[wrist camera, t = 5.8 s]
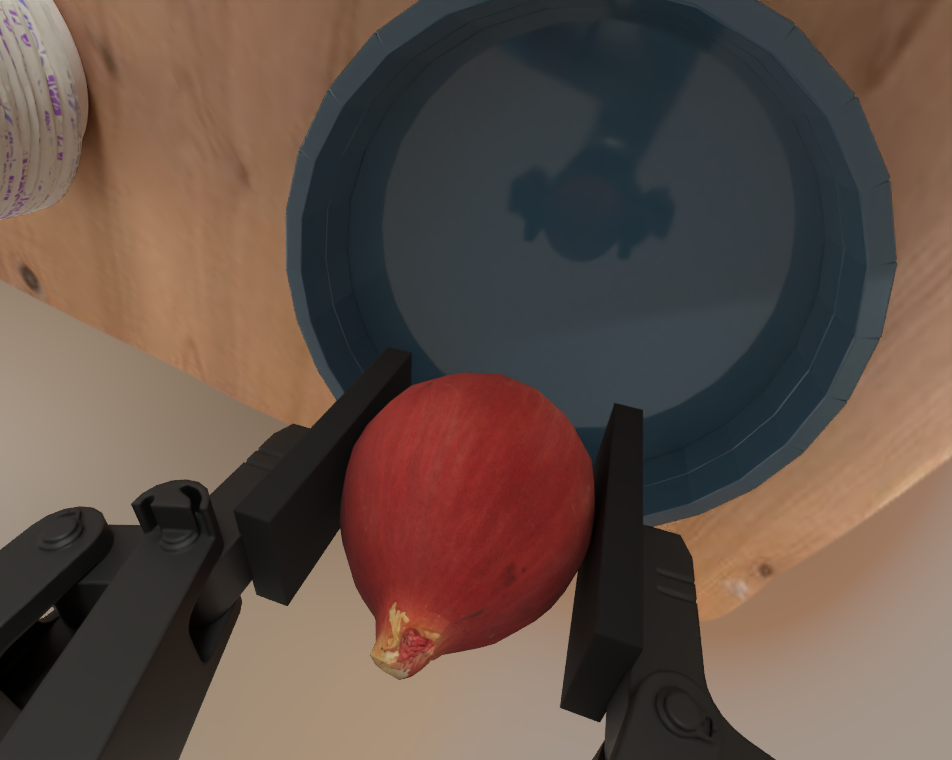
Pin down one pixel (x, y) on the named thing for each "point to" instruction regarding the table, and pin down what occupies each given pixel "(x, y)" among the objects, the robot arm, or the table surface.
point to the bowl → (603, 224)
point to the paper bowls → (38, 106)
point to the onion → (463, 515)
